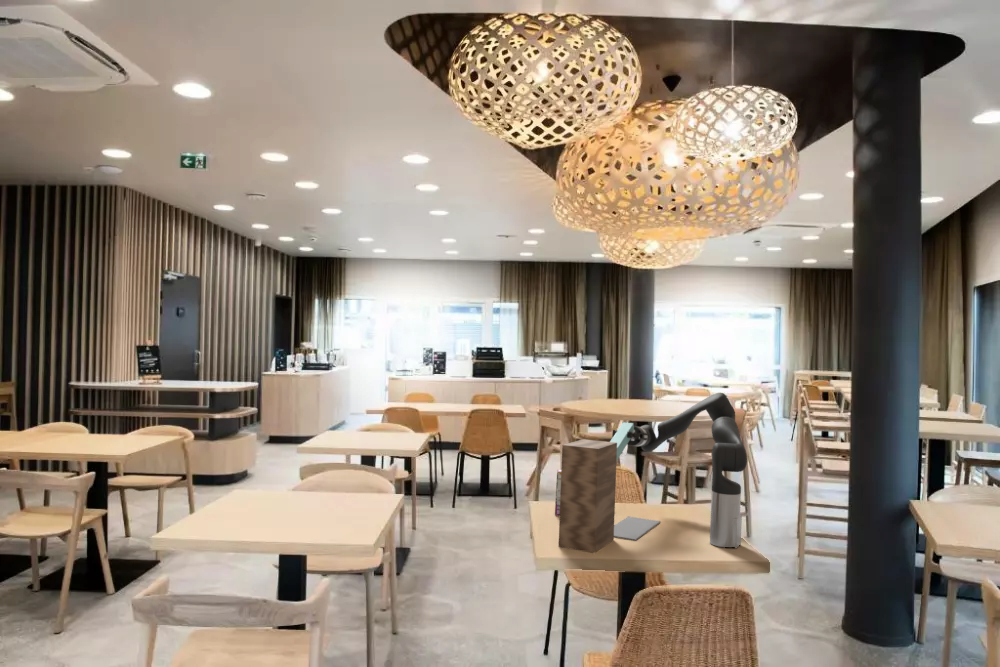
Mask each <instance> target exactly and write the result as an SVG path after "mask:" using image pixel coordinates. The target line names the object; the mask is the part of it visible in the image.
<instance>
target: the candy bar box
mask: <svg viewBox="0 0 1000 667" xmlns="http://www.w3.org/2000/svg"><path fill="white" fill-rule="evenodd" d="M555 485H556V487H555V506H554V515H555V516H560V495H561V469H557V470H556V484H555Z"/></svg>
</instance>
